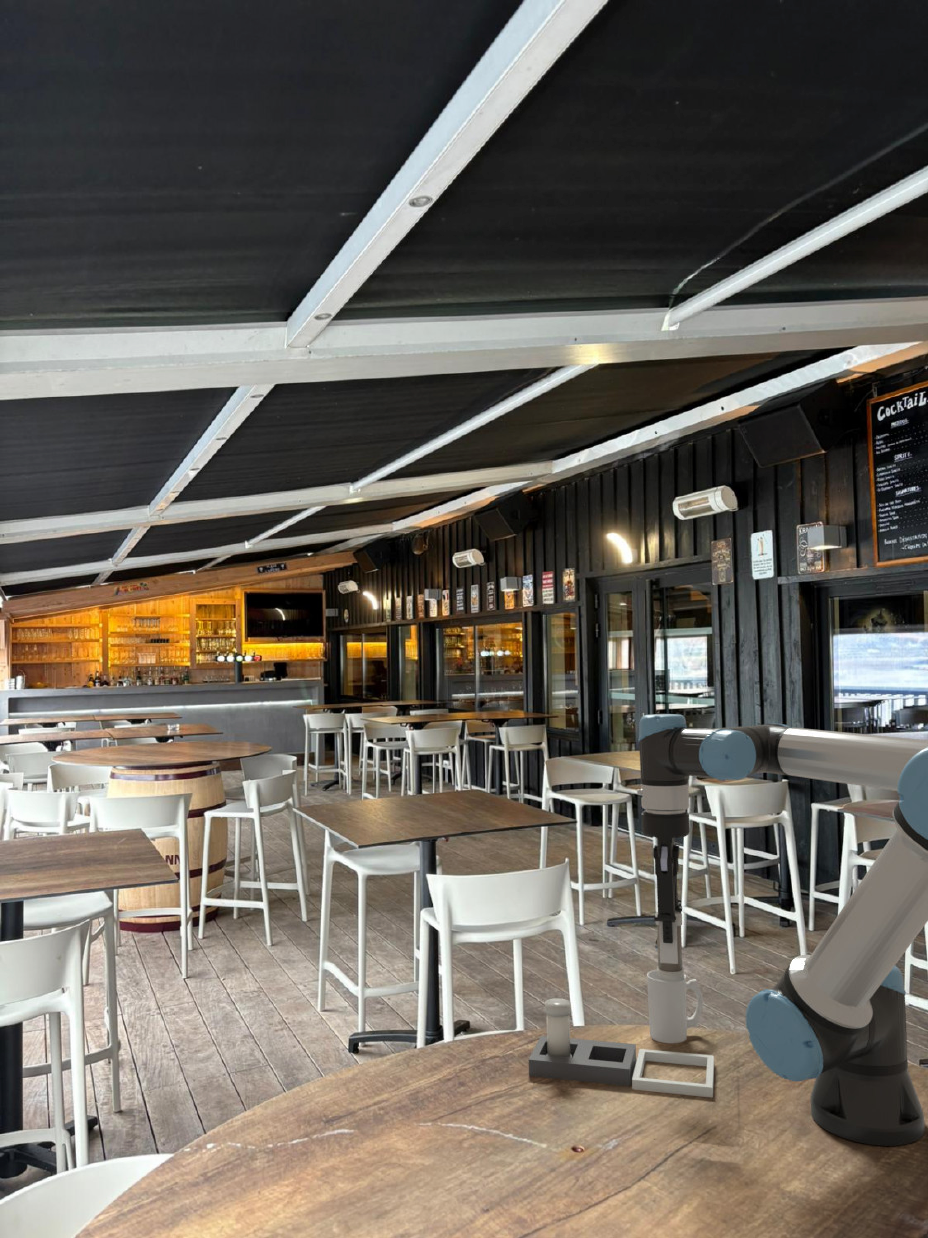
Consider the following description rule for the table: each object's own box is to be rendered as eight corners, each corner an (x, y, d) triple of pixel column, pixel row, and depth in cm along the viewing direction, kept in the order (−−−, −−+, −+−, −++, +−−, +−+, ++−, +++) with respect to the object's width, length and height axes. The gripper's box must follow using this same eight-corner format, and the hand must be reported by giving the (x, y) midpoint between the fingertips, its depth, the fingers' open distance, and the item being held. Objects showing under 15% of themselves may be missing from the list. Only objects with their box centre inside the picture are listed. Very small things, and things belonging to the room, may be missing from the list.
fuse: (574, 1061, 153) (572, 999, 153) (569, 1071, 149) (568, 1008, 149) (549, 1058, 154) (547, 997, 154) (544, 1069, 150) (542, 1006, 150)
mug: (657, 1054, 158) (654, 983, 159) (643, 1039, 165) (641, 970, 166) (712, 1049, 160) (709, 978, 161) (696, 1034, 166) (694, 966, 167)
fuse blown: (684, 974, 148) (682, 911, 149) (683, 983, 144) (681, 918, 145) (658, 972, 150) (656, 910, 150) (656, 981, 146) (654, 916, 146)
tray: (714, 1074, 150) (713, 1055, 150) (713, 1107, 139) (712, 1087, 139) (640, 1066, 153) (639, 1049, 154) (632, 1099, 142) (632, 1079, 142)
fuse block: (636, 1069, 153) (635, 1044, 153) (630, 1096, 143) (629, 1069, 143) (541, 1059, 157) (540, 1035, 157) (529, 1085, 147) (528, 1059, 148)
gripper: (646, 802, 158) (650, 941, 156) (636, 818, 141) (641, 973, 140) (691, 803, 156) (696, 944, 154) (686, 819, 139) (692, 977, 138)
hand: (670, 957), depth 147 cm, fingers closed on fuse blown, 4 cm apart
